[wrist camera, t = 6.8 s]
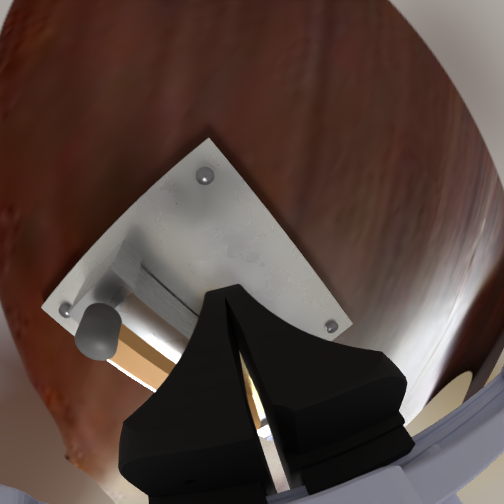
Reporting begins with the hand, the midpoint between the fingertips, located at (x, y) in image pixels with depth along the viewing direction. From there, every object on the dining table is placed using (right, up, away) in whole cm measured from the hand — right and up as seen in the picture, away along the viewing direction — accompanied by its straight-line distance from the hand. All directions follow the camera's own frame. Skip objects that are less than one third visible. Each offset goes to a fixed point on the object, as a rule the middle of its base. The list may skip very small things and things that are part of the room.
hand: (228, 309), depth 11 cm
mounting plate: (-2, -3, +9) cm, 10 cm away
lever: (-3, -5, +4) cm, 7 cm away
